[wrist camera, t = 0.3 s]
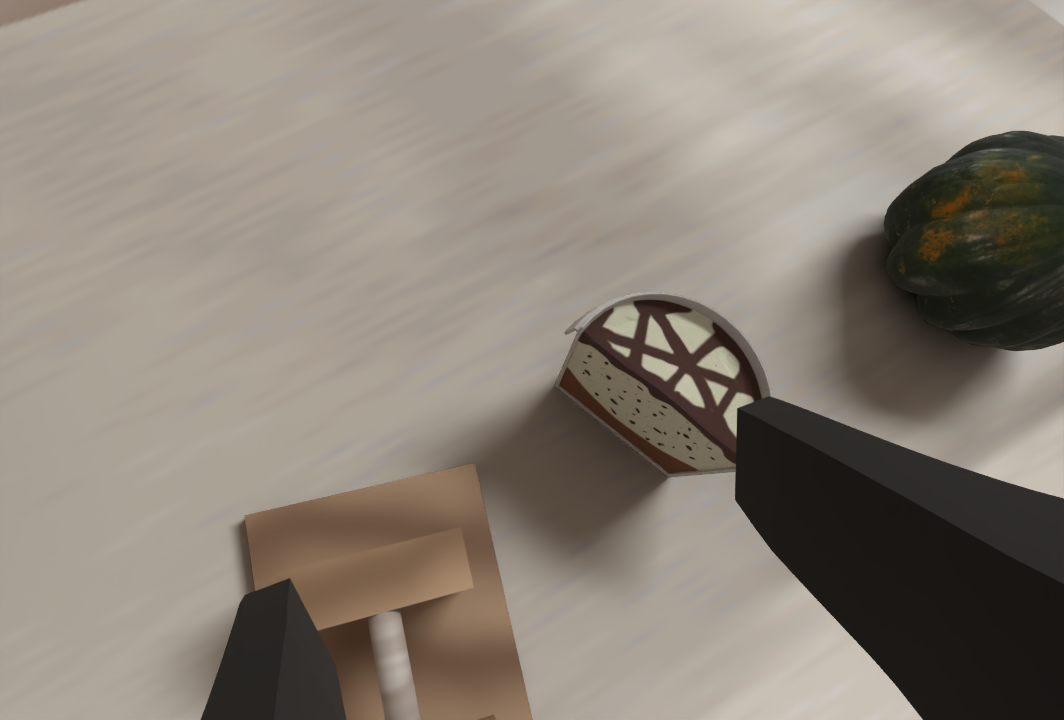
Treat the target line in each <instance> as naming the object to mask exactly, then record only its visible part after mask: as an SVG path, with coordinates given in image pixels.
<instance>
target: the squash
mask: <svg viewBox="0 0 1064 720" xmlns="http://www.w3.org/2000/svg"><path fill="white" fill-rule="evenodd" d="M884 228H885V233H886V237H887V239H888V241H889V243H890V244H891V246H892V247H893V249H892V250H891V252H890V254H889V256H888V258H887V264H886V266H887V272H888V273H889V275H890V277H891V279H892V281H893V282H894V283H895V285H897V286H898V287H900V288H901V289H903V290H905V291H908V292H912V293H915V294H918V297H917V307H918V309H919V312H920V314H921V315H922V317H923V318H924V320H925V321H926V322H927V323H929V324H932V325H934V326H937V327H939V328H942V329H946V330H950V331H951V332H953V333H954V334H955V335H956V336H957V337H959V338H960V339H961V340H964V341H966V342H969V343H971V344H974V345H979V346H986V347H995V348H999V349H1004V350H1010V351H1024V350H1036V349H1042V348H1046V347H1049V346H1053V345H1056V344H1059V343H1062V342H1064V137H1062V136H1054V135H1052V136H1047V135H1043V134H1039V133H1034V132H1029V131H1011V132H1006V133H1003V134H998V135H992V136H988V137H985V138H982V139H979V140H977V141H974V142H972V143H970V144H968V145H967V146H965V147H964V148H962V149H961V150H960V151H958V152H957V153H956V154H955V155H953V156H952V157H951V158H950V159H949V160H948V161H946V163H944V164H942V165H939V166H937V167H934V168H933V169H931V170H930V171H928V172H927V173H926V174H924V175H923V176H921V177H920V178H919V179H917V180H916V181H914V182H913V183H912V184H910V185H909V186H908V187H907V188H906V189H905V190H903V191H902V192H901V193H900V195H899V196H898V197H897V198H896V199H895V200H894V201H893V202H892V203H891V205H890V206H889V208H888V209H887V213H886V215H885V221H884Z"/></svg>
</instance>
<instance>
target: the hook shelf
mask: <svg viewBox="0 0 1064 720" xmlns="http://www.w3.org/2000/svg"><path fill="white" fill-rule="evenodd" d="M245 523H246V530H247V537H248V544H249V551H250V558H251V565H252V572H253V579H254V586H255V591H257V590H259V589H262V588H265V587H267V586H270V585H273V584H275V583H278V582H281V581H283V580H286V579H288V578H290V579H291V581H292V583H293V585H294V587H295V589H296V590H297V592H298V594H299V596H300V598H301V600H302V602H303V604H304V606H305V608H306V610H307V611H308V613H309V615H310V617H311V619H312V621H313V623H314V625H315V627H316V629H317V631H318V632H319V634H320V636H321V638H322V640H323V642H324V644H325V646H326V648H327V650H328V652H329V653H330V655H331V657H332V659H333V661H334V663H335V665H336V669H337V674H338V679H339V684H340V689H341V694H342V699H343V704H344V710H345V715H346V720H533V719H532V715H531V711H530V706H529V702H528V697H527V693H526V688H525V684H524V680H523V675H522V671H521V666H520V662H519V657H518V653H517V648H516V644H515V640H514V635H513V631H512V626H511V622H510V617H509V613H508V609H507V604H506V600H505V595H504V591H503V586H502V582H501V578H500V573H499V569H498V564H497V560H496V555H495V551H494V546H493V542H492V538H491V533H490V529H489V524H488V520H487V515H486V511H485V507H484V502H483V498H482V493H481V489H480V484H479V480H478V476H477V471H476V467H475V463H472V464H468V465H463V466H459V467H454V468H450V469H446V470H441V471H437V472H433V473H428V474H424V475H420V476H415V477H411V478H406V479H402V480H398V481H393V482H389V483H385V484H380V485H376V486H372V487H367V488H363V489H358V490H354V491H350V492H345V493H341V494H337V495H332V496H328V497H324V498H319V499H315V500H310V501H306V502H302V503H297V504H293V505H289V506H284V507H280V508H276V509H271V510H267V511H262V512H258V513H254V514H249V515H245Z"/></svg>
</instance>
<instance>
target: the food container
mask: <svg viewBox="0 0 1064 720" xmlns="http://www.w3.org/2000/svg"><path fill="white" fill-rule="evenodd" d="M575 330H576V331H577V334H576V336H575V339H574V341H573V343H572V346H571V348H570V350H569V353H568V355H567V357H566V360H565V362H564V364H563V367H562V369H561V371H560V374H559V376H558V378H557V381H556V383H555V385H554V386H555V387H557V388H558V389H559V390H560V391H562V392H563V393H564V394H565V395H567V396H568V397H569V398H570V399H572V400H573V401H574V402H575V403H577V404H578V405H579V406H580V407H582V408H583V409H584V410H585V411H587V412H588V413H589V414H590V415H592V416H593V417H594V418H595V419H597V420H598V421H599V422H600V423H602V424H603V425H604V426H605V427H607V428H608V429H609V430H610V431H612V432H613V433H614V434H615V435H617V436H618V437H619V438H620V439H622V440H623V441H624V442H625V443H627V444H628V445H629V446H630V447H632V448H633V449H634V450H635V451H637V452H638V453H639V454H640V455H642V456H643V457H644V458H645V459H646V460H648V461H649V462H650V463H651V464H653V465H654V466H655V467H656V468H658V469H659V470H660V471H661V472H663V473H664V474H665V475H666V476H668V477H678V476H690V475H702V474H713V473H725V472H736V435H737V408H739V407H742V406H744V405H747V404H750V403H752V402H755V401H757V400H760V399H763V398H765V397H768V396H770V397H772V390H771V386H770V383H769V379H768V376H767V373H766V370H765V368H764V366H763V364H762V362H761V360H760V357H759V356H758V354H757V352H756V351H755V349H754V348H753V346H752V345H751V343H750V342H749V340H748V339H747V338H746V337H745V336H744V334H743V333H742V332H741V331H740V330H739V329H738V328H737V327H736V326H735V325H734V324H733V323H732V322H731V321H729V320H728V319H727V318H726V317H725V316H723V315H722V314H720V313H719V312H717V311H716V310H714V309H713V308H711V307H709V306H707V305H705V304H703V303H701V302H699V301H697V300H694V299H691V298H688V297H684V296H681V295H675V294H669V293H662V292H642V293H635V294H628V295H625V296H622V297H619V298H615V299H613V300H610V301H608V302H606V303H604V304H602V305H600V306H598V307H596V308H594V309H592V310H590V311H588V312H587V313H586V314H584V315H583V316H582V317H580V318H579V319H578V320H576V321H575V322H574V323H573V324H572V325H571V326H570V327H569V328H568V329H567V330H566V331H565V332H564V333H565V334H566V335H567V334H569V333H571V332H573V331H575Z"/></svg>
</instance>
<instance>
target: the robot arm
mask: <svg viewBox="0 0 1064 720" xmlns="http://www.w3.org/2000/svg"><path fill="white" fill-rule="evenodd" d="M735 500H736V502H737V503H738V504H739V506H740V507H741V509H742V510H743V512H744V513H745V514H746V516H747V517H748V519H749V520H750V522H751V523H752V524H753V526H754V527H755V529H756V530H757V531H758V533H759V534H760V535H761V537H762V538H763V539H764V541H765V542H766V543H767V545H768V546H769V547H770V549H771V550H772V551H773V552H774V553H775V555H776V556H777V557H778V558H779V559H780V560H781V561H782V562H783V563H784V564H785V566H786V567H787V568H788V569H789V570H790V571H791V572H792V573H793V574H794V575H795V576H796V577H797V579H798V580H799V581H800V582H801V583H802V584H803V585H804V586H805V587H806V588H807V589H808V590H809V591H810V593H811V594H812V595H813V596H814V597H815V598H816V599H817V600H818V601H819V602H820V603H821V604H822V605H823V606H824V607H825V609H826V610H827V611H828V612H829V613H830V614H831V615H832V616H833V617H834V618H835V619H836V620H837V621H838V622H839V623H840V624H841V626H842V627H843V628H844V629H845V630H846V631H847V632H848V633H849V634H850V635H851V636H852V637H853V638H854V639H855V640H856V641H857V643H858V644H859V645H860V646H861V647H862V648H863V649H864V650H865V651H866V652H867V653H868V654H869V655H870V656H871V657H872V658H873V660H874V661H875V662H876V663H877V664H878V665H879V666H880V668H881V669H882V670H883V671H884V672H885V673H886V674H887V676H888V677H889V678H890V679H891V680H892V681H893V682H894V684H895V685H896V686H897V687H898V688H899V690H900V691H901V692H902V693H903V695H904V696H905V697H906V699H907V700H908V701H909V702H910V704H911V705H912V706H913V708H914V709H915V710H916V711H917V713H918V714H919V715H920V716H921V718H922V719H923V720H1064V499H1063V498H1060V497H1056V496H1052V495H1049V494H1045V493H1041V492H1037V491H1034V490H1030V489H1027V488H1024V487H1020V486H1017V485H1013V484H1010V483H1007V482H1004V481H1000V480H997V479H994V478H991V477H988V476H985V475H982V474H979V473H976V472H973V471H970V470H967V469H964V468H961V467H958V466H955V465H952V464H949V463H946V462H943V461H940V460H937V459H935V458H932V457H929V456H926V455H923V454H921V453H918V452H915V451H912V450H910V449H907V448H904V447H902V446H899V445H896V444H894V443H891V442H888V441H886V440H883V439H880V438H878V437H875V436H873V435H870V434H867V433H865V432H862V431H860V430H857V429H855V428H852V427H849V426H847V425H844V424H842V423H839V422H837V421H834V420H832V419H829V418H827V417H824V416H821V415H819V414H816V413H814V412H811V411H809V410H806V409H803V408H801V407H798V406H795V405H793V404H790V403H787V402H785V401H782V400H779V399H776V398H773V397H770V396H768V397H765V398H763V399H760V400H757V401H755V402H752V403H750V404H747V405H744V406H742V407H739V408H737V435H736V482H735ZM201 720H346V715H345V710H344V704H343V699H342V694H341V689H340V684H339V679H338V674H337V669H336V665H335V663H334V661H333V659H332V657H331V655H330V653H329V652H328V650H327V648H326V646H325V644H324V642H323V640H322V638H321V636H320V634H319V632H318V631H317V629H316V627H315V625H314V623H313V621H312V619H311V617H310V615H309V613H308V611H307V610H306V608H305V606H304V604H303V602H302V600H301V598H300V596H299V594H298V592H297V590H296V589H295V587H294V585H293V583H292V581H291V579H290V578H288V579H286V580H283V581H281V582H278V583H275V584H273V585H270V586H267V587H265V588H262V589H259V590H257V591H254V592H252V593H249V594H246V595H245V596H244V597H243V599H242V601H241V602H240V604H239V608H238V611H237V614H236V617H235V621H234V624H233V627H232V630H231V634H230V637H229V640H228V643H227V646H226V649H225V652H224V655H223V658H222V661H221V664H220V667H219V670H218V673H217V676H216V679H215V682H214V684H213V687H212V690H211V693H210V696H209V699H208V702H207V704H206V707H205V710H204V712H203V715H202V718H201Z"/></svg>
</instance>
